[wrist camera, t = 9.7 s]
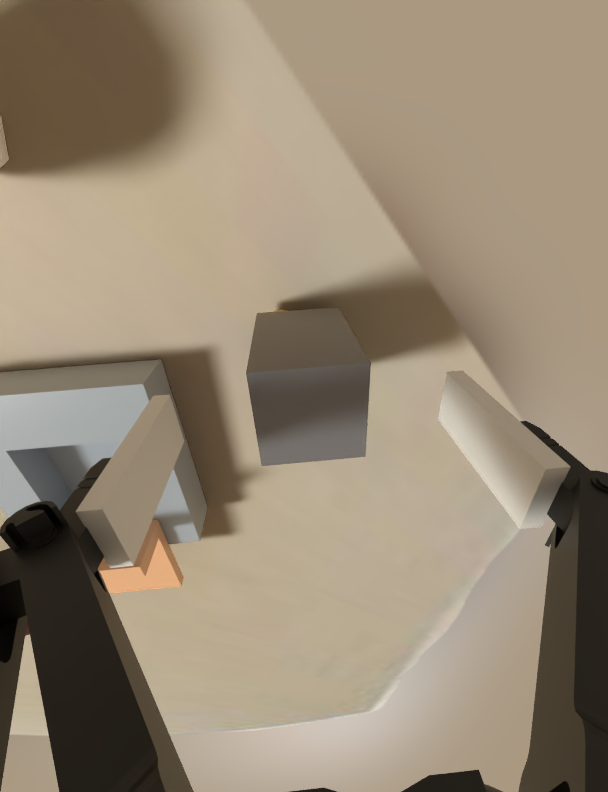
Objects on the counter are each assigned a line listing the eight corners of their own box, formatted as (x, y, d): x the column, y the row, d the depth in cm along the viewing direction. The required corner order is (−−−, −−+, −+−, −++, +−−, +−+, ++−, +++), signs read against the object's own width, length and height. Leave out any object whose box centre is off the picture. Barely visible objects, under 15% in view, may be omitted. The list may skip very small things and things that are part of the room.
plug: (258, 307, 21) (246, 373, 13) (335, 301, 21) (370, 362, 13) (267, 376, 23) (261, 466, 15) (335, 370, 23) (365, 456, 16)
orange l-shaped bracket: (52, 529, 25) (18, 578, 21) (157, 519, 25) (139, 566, 22) (93, 586, 29) (70, 635, 26) (183, 577, 29) (171, 624, 26)
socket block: (-35, 374, 22) (-85, 402, 19) (161, 359, 22) (142, 384, 19) (64, 520, 29) (40, 556, 26) (207, 507, 30) (199, 541, 27)
